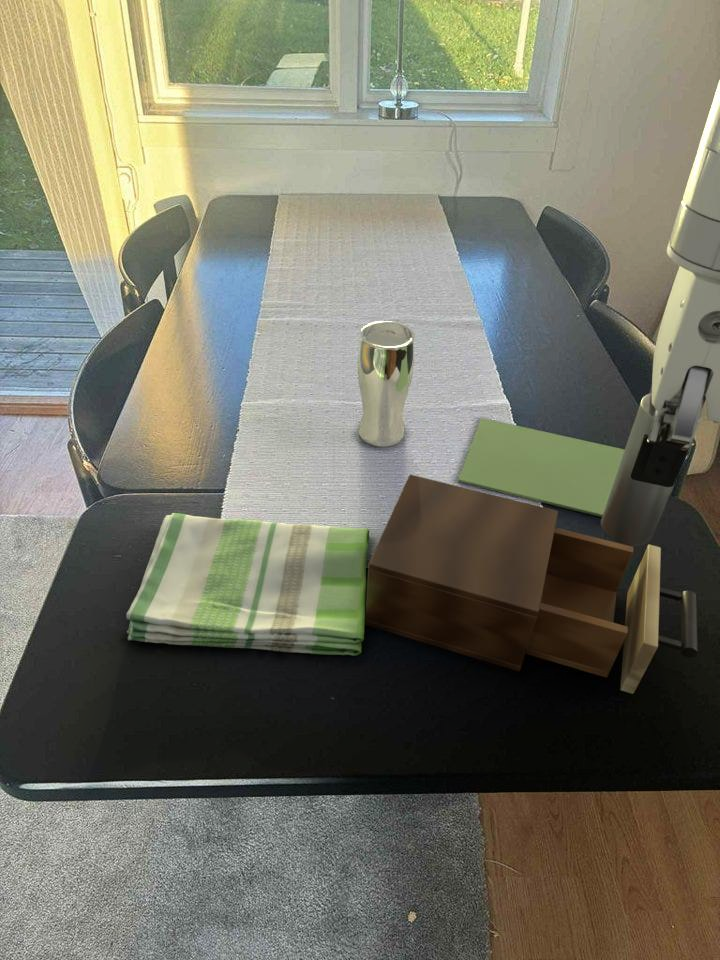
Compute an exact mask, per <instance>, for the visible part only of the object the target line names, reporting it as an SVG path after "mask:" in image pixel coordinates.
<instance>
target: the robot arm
mask: <svg viewBox="0 0 720 960" xmlns="http://www.w3.org/2000/svg"><path fill="white" fill-rule="evenodd" d="M666 255H667V256H668V257H669V259H671V260H672V262H673V263H675V264H676V265H677V266H679V267H678V270H677V273H676V275H675V278H674V281H673V284H672V287H671V290H670V293H669V297H668V300H667V302H666V306H665V309H664V312H663V315H662V319H661V323H660V326H659V330H658V333H657V338H656V342H655V347H654V350H653V359H652V376H651V377H652V378H651V387H650V389H649V394H650V393H652V405H653V406H654V408H655V409H656V412H655V416H654V419H653V422H652V425H651V428H650V432H649V435H646V434H644V436H643V439H642V442H641V444H640V447H639V450H638V453H637V456H636V458H635V461H634V464H633V467H632V470H631V478H632V479H633V480H636V481H641V482H646V483H650V484H655V485H659V486H664V487H672V486H673V485H674V486H675V483H676V481H677V479H678V477H679V474H680V471H681V469H682V466H683V464H684V461H685V459H686V457H687V454H688V452H689V450H690V447H691V445H690V443H691V444H692V442H691V440H692V437H693V434H694V432H695V429H696V426H697V423H698V420H699V417H700V414H701V411H702V412H703V408H704V406H705V407H706V417H707V418H706V419H707V421H710V422H713V423H714V424H720V79H719V81H718V83H717V88H716V90H715V93H714V96H713V100H712V103H711V106H710V110H709V112H708V116H707V119H706V122H705V125H704V129H703V131H702V135H701V138H700V141H699V144H698V148H697V152H696V155H695V158H694V161H693V164H692V167H691V171H690V173H689V177H688V180H687V183H686V187H685V190H684V192H683V197H682V199H681V202H680V205H679V208H678V212H677V215H676V218H675V221H674V224H673V228H672V230H671V234H670V238H669V240H668V243H667V247H666ZM672 398H678V399H679V401H678V403H674V402H669V401H670V400H671V399H672ZM665 414H669V415H675V416H674V420H673V422H672V424H664V425H663V426H662V423H663V420H664V417H665ZM661 426H662V427H661ZM692 441H693V440H692ZM689 446H690V447H689ZM674 486H673V487H674Z"/></svg>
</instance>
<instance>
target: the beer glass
mask: <svg viewBox="0 0 720 960" xmlns="http://www.w3.org/2000/svg"><path fill="white" fill-rule="evenodd" d="M359 336H360V338H359V344H358V346H359V347H358V355H357V379H358V386H359V391H360V398H361V405H362V414H361V420H360V424H359V426H358V427H359V428H358V434H359V437H360V439H361V440H362V441H363V442H365V443H366V444H368V445H371V446H374V447H379V448H383V447H384V448H385V447H391V446H395V445H396V444H397V445H398V443H400V442H401V441H402V440H403V438H404V436H405V426H404V419H403V414H404V408H405V404H406V401H407V397H408V394H409V390H410V387H411V384H412V379H413V375H414V365H415V332H414V331H413V330H412V328H410V327H409V326H408V325H406V324H404V323H401V322H397V321H391V320H385V321H384V320H380V321H374V322H371V323H368V324H367V325H365V326H363V328H361V331H360V335H359Z"/></svg>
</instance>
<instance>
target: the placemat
mask: <svg viewBox="0 0 720 960" xmlns="http://www.w3.org/2000/svg"><path fill="white" fill-rule="evenodd" d="M624 451H625V448H621V447H620V448H619V447H615V446H610V445H605V444H601V443H597V442H594V441H593V442H592V441H588V440H583V439H579V438H574V437H570V436H565V435H561V434H558V433H552V432H547V431H543V430H540V429H539V430H538V429H534V428H529V427H525V426H520V425H516V424H511V423H508V422H507V423H506V422H503V421H497V420H493V419H489V418H484V417H481V418H480V421H479V424H478V427H477V429H476V432H475V435H474V437H473V439H472V442H471V445H470V448H469V450H468V453H467V456H466V459H465V461H464V464H463V467H462V469H461V471H460V474H459V477H458V479H457V480H458V483H461V484H465V485H469V486H474V487H478V488H482V489H486V490H490V491H494V492H497V493H502V494H505V495H511V496H515V497H519V498H523V499H526V500H531V501H535V502H539V503H544V504H548V505H552V506H556V507H559V508H562V509H563V508H564V509H568V510H571V511H575V512H580V513H583V514H588V515H592V516H596V517H601V518H602V516H603V513H604V510H605V507H606V504H607V501H608V498H609V495H610V492H611V489H612V486H613V483H614V480H615V477H616V474H617V472H618V469H619V466H620V463H621V460H622V457H623V454H624Z"/></svg>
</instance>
